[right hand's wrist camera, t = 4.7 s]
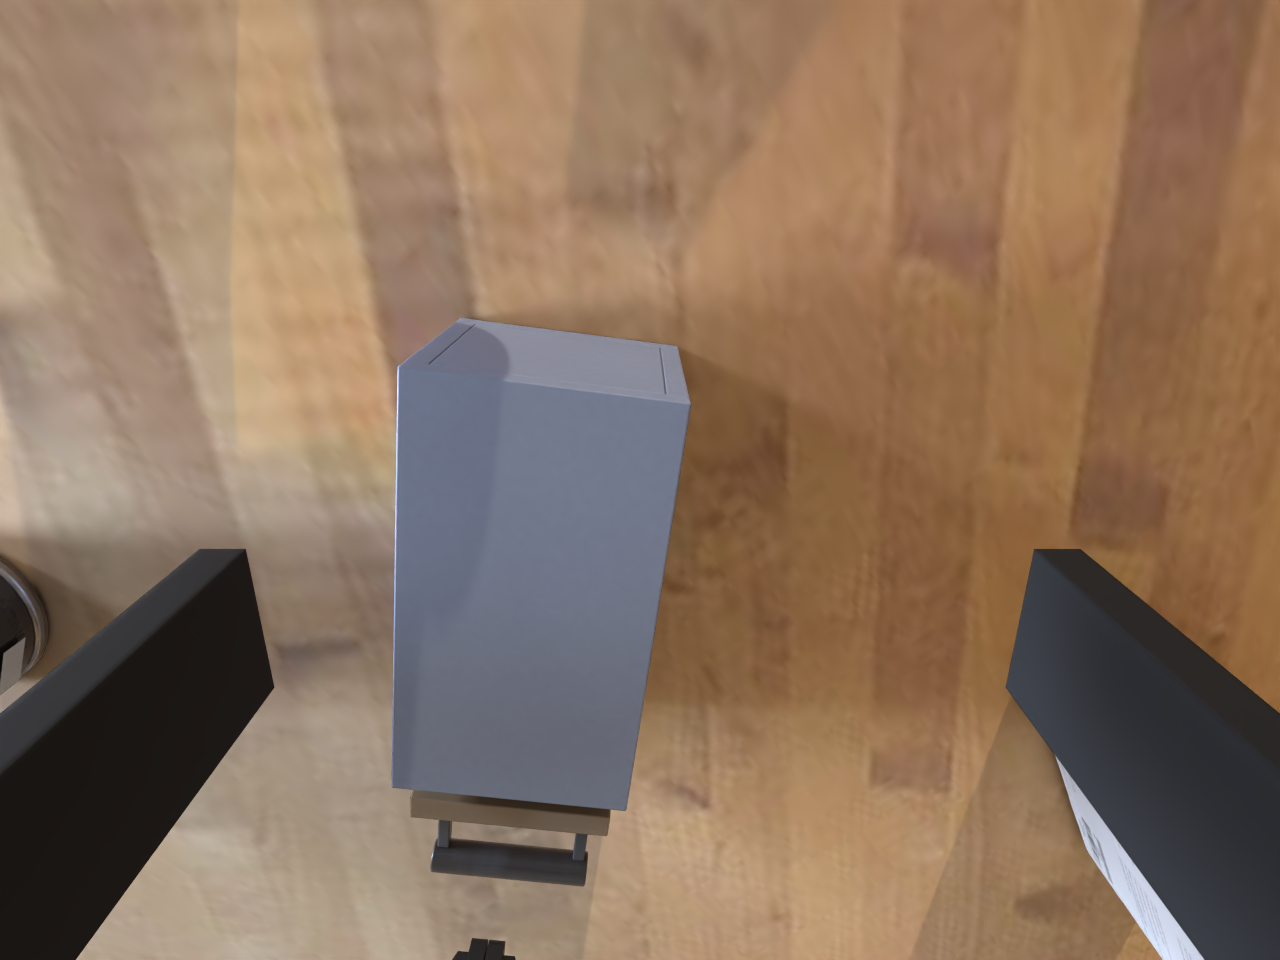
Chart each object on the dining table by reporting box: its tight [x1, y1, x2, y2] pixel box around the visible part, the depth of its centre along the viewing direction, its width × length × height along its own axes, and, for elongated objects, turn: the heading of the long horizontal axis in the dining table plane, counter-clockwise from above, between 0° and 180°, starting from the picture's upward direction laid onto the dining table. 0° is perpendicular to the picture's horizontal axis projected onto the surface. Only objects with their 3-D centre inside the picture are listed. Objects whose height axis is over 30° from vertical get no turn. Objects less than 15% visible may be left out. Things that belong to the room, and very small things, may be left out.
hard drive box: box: [1056, 757, 1204, 960], centre depth 36 cm, size 16×8×20 cm, turn 25°
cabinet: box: [392, 318, 691, 811], centre depth 36 cm, size 19×11×10 cm, turn 173°
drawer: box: [410, 790, 610, 886], centre depth 38 cm, size 24×9×8 cm, turn 173°
